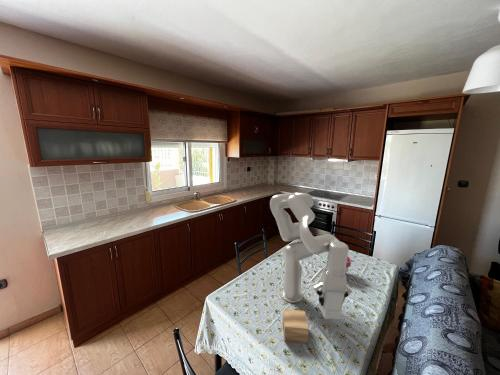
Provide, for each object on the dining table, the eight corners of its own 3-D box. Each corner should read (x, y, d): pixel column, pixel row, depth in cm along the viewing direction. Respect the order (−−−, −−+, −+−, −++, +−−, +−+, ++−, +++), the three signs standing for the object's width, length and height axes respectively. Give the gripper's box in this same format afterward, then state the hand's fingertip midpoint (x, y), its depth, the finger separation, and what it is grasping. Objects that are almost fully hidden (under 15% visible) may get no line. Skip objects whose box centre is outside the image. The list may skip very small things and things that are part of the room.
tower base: (282, 323, 100) (282, 316, 100) (303, 325, 100) (303, 318, 99) (284, 342, 91) (284, 335, 90) (307, 344, 90) (308, 336, 89)
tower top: (283, 316, 100) (283, 309, 99) (304, 318, 99) (304, 311, 98) (284, 334, 90) (284, 326, 89) (308, 336, 89) (308, 329, 88)
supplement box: (333, 306, 98) (337, 282, 96) (340, 319, 91) (344, 294, 88) (318, 305, 98) (321, 282, 95) (324, 319, 91) (327, 294, 88)
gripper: (352, 266, 93) (346, 299, 97) (313, 263, 94) (309, 296, 98) (360, 276, 86) (353, 312, 90) (317, 273, 86) (312, 309, 90)
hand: (330, 303), depth 94 cm, fingers closed on supplement box, 7 cm apart
